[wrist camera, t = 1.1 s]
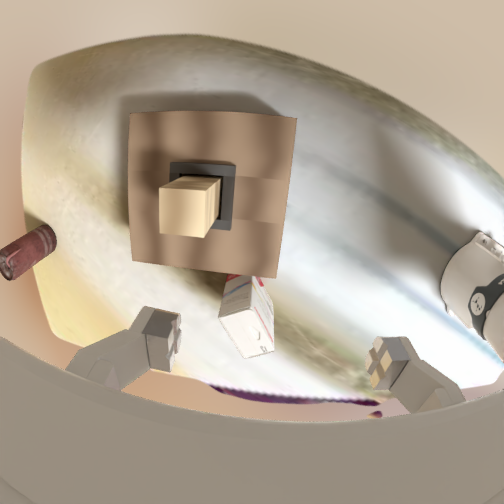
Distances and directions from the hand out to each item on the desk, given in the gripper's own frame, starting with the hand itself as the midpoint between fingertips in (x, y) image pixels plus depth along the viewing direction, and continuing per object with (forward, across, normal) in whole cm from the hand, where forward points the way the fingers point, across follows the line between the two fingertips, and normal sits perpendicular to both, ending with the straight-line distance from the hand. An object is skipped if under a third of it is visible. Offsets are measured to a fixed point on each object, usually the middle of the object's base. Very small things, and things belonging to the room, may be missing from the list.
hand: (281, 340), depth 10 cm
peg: (+24, +8, 0) cm, 25 cm away
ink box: (+31, 0, +17) cm, 35 cm away
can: (+32, +43, +14) cm, 56 cm away
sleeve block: (+31, +8, 0) cm, 32 cm away
